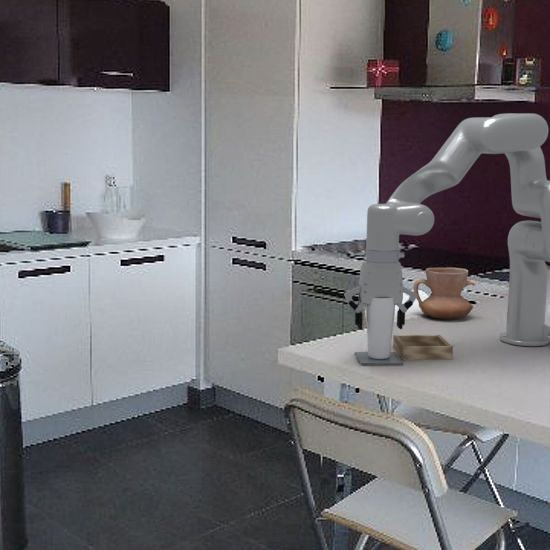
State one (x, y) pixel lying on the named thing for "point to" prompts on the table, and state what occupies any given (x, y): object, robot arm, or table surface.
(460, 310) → the ceramic jug
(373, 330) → the drinking glass
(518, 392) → the table surface
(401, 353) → the oak collar
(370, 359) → the slate coaster
